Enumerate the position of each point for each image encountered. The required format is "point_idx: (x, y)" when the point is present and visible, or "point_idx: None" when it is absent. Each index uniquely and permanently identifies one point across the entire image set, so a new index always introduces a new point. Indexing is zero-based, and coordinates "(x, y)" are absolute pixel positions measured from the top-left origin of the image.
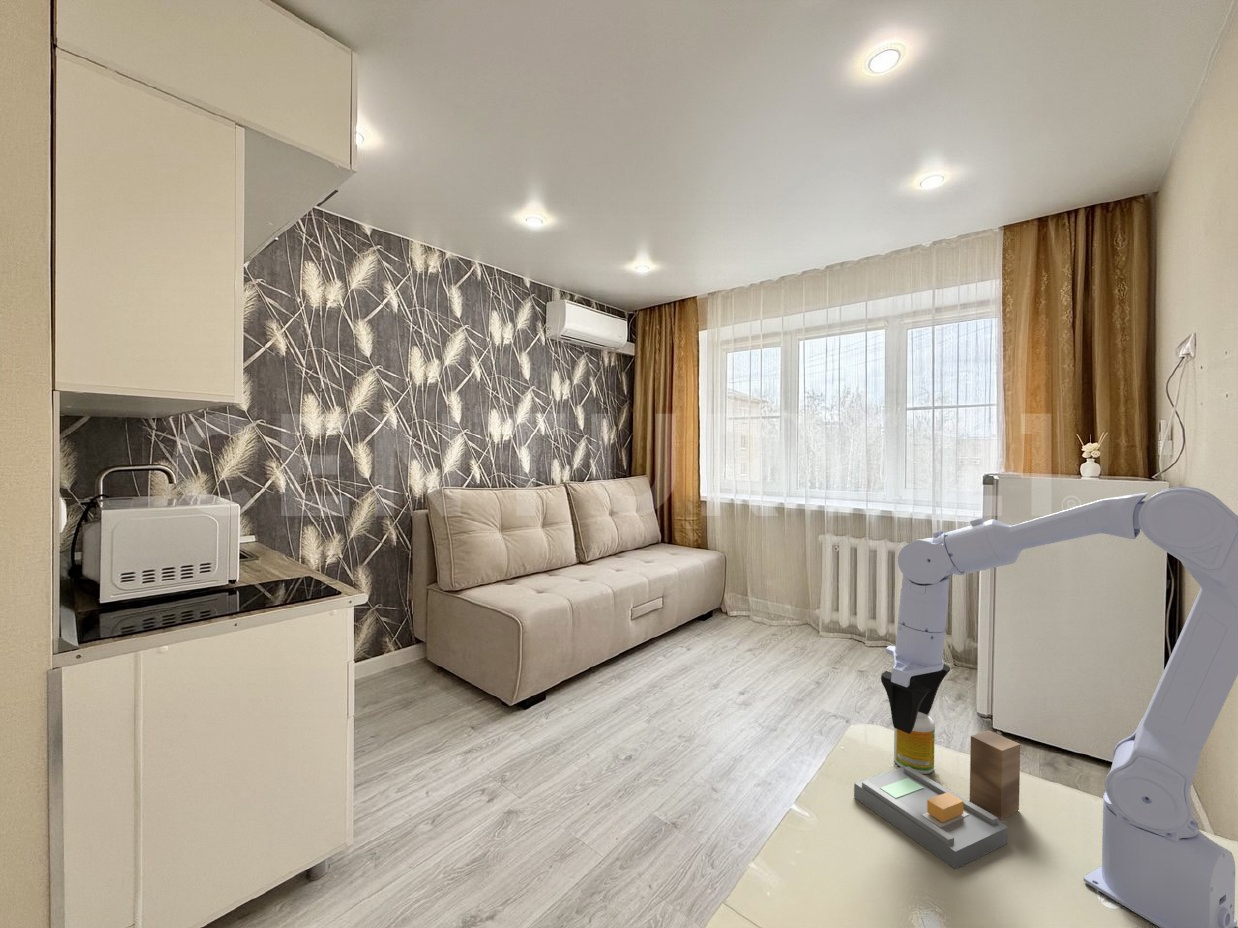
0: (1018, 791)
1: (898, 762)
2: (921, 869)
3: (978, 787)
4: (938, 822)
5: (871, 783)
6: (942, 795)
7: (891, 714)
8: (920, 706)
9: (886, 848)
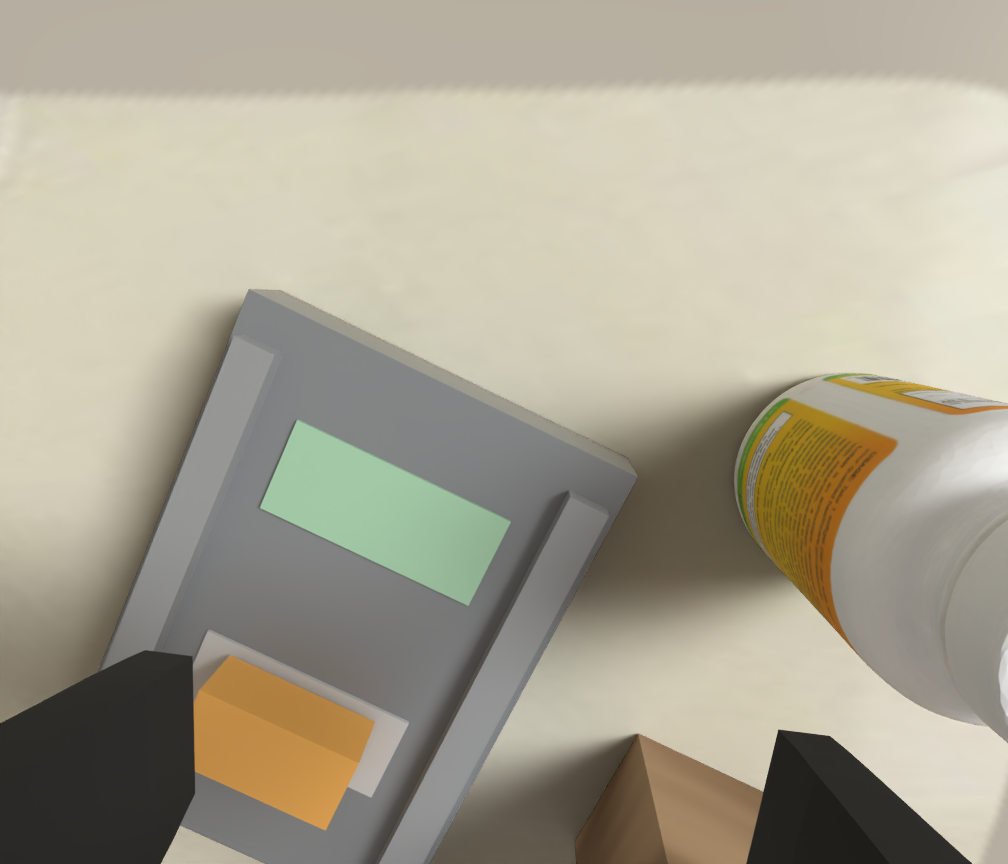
0: None
1: (765, 412)
2: (9, 630)
3: (631, 831)
4: None
5: (258, 383)
6: (304, 743)
7: (28, 709)
8: (785, 860)
9: (25, 502)
